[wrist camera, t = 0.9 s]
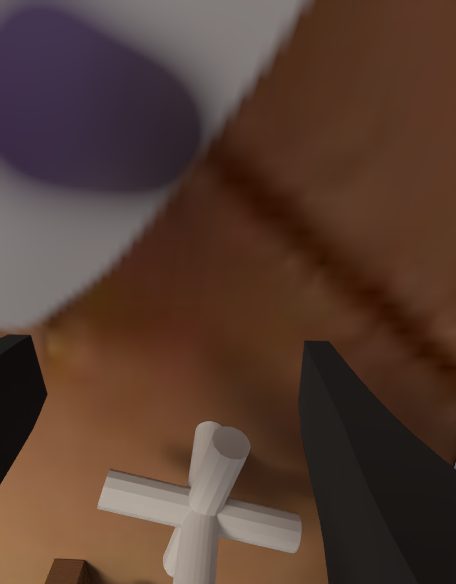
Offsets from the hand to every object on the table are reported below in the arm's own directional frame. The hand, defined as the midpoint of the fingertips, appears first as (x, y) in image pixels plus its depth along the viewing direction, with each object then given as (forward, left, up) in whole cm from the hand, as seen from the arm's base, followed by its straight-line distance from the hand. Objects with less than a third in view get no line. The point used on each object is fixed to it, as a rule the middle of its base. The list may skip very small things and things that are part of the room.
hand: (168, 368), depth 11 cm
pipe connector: (0, +12, -10) cm, 16 cm away
